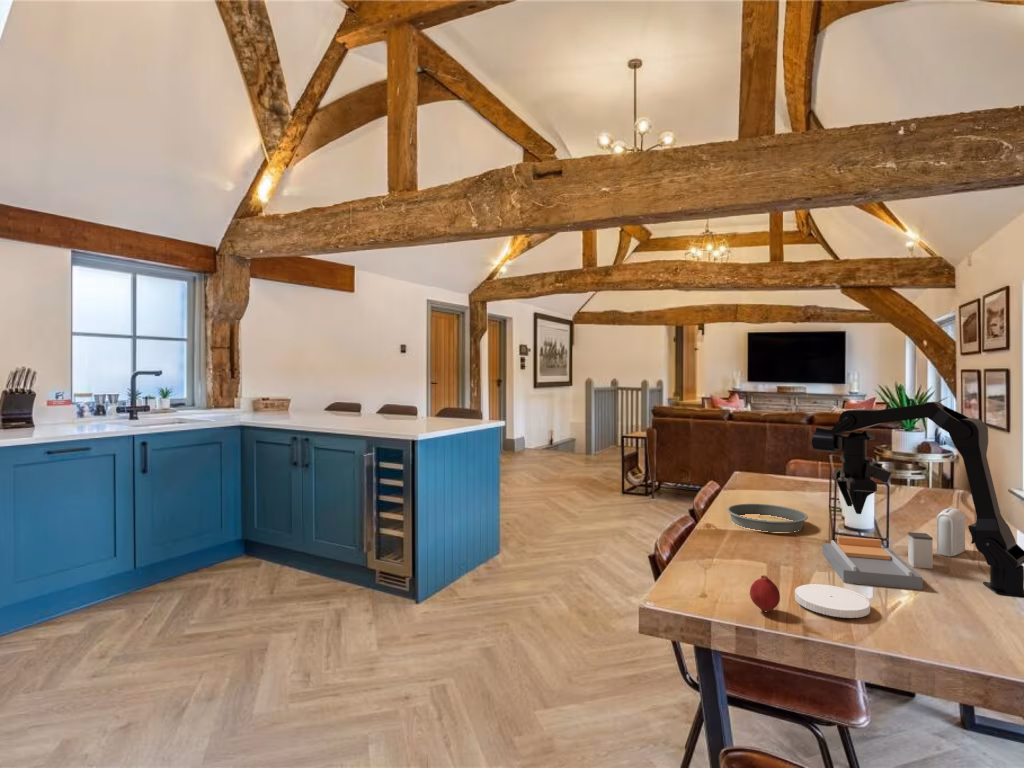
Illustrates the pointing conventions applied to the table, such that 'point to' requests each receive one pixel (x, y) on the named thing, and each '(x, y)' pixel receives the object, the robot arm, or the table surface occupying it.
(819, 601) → the plastic lid
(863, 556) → the shutter
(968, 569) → the table surface
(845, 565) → the socket plate
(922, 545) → the plug
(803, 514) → the cake pan
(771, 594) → the onion
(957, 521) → the photo printer
